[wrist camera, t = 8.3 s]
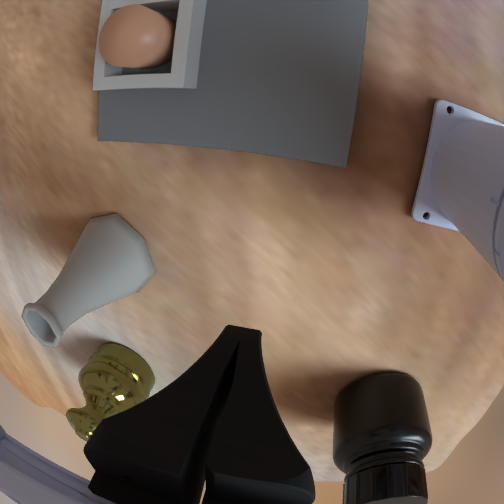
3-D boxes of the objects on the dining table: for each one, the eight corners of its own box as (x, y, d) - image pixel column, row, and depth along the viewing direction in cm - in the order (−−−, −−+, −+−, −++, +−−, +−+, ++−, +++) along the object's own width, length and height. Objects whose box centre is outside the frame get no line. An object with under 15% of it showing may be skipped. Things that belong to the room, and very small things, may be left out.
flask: (114, 301, 27) (52, 376, 18) (69, 235, 25) (-10, 295, 16) (171, 275, 25) (106, 364, 16) (120, 196, 22) (27, 257, 14)
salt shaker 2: (165, 368, 30) (124, 447, 21) (146, 398, 33) (112, 465, 25) (103, 329, 29) (49, 399, 20) (93, 365, 33) (50, 426, 24)
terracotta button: (183, 12, 14) (160, 0, 12) (176, 68, 16) (153, 64, 13) (130, 18, 15) (102, 9, 12) (124, 70, 16) (95, 69, 14)
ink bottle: (335, 429, 30) (329, 528, 20) (323, 379, 27) (315, 501, 16) (422, 414, 27) (436, 512, 17) (428, 359, 24) (456, 478, 13)
